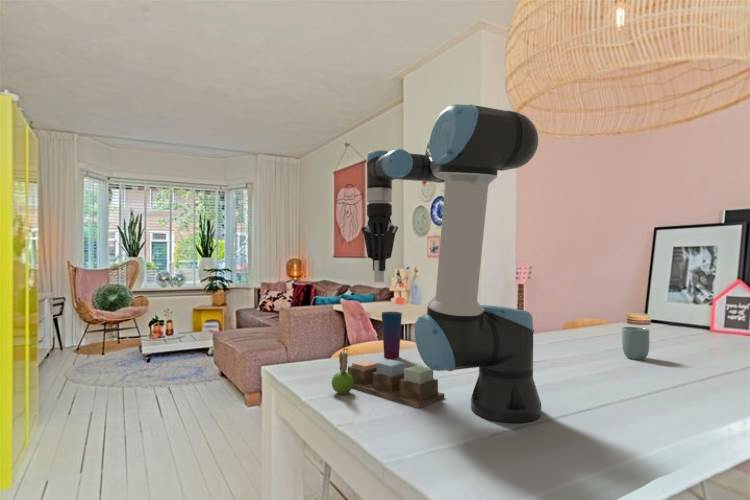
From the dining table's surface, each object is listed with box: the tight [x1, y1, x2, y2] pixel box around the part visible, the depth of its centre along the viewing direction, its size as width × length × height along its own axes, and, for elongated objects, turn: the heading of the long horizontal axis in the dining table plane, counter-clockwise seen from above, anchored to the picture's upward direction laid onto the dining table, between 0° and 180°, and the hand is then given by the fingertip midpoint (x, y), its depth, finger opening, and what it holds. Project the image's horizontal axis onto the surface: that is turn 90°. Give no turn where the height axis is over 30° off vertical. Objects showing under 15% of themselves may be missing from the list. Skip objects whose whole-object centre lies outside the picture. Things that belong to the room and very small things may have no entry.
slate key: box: [377, 359, 405, 377], centre depth 115 cm, size 5×5×3 cm
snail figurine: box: [331, 347, 353, 395], centre depth 112 cm, size 5×6×12 cm
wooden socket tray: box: [347, 365, 445, 409], centre depth 115 cm, size 26×10×5 cm, turn 47°
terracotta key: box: [351, 359, 378, 371], centre depth 121 cm, size 5×5×3 cm
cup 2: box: [621, 326, 650, 361], centre depth 151 cm, size 8×8×10 cm
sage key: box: [404, 364, 434, 385], centre depth 108 cm, size 5×5×3 cm
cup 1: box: [381, 311, 403, 360], centre depth 151 cm, size 7×7×15 cm
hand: (379, 281), depth 135 cm, fingers closed
